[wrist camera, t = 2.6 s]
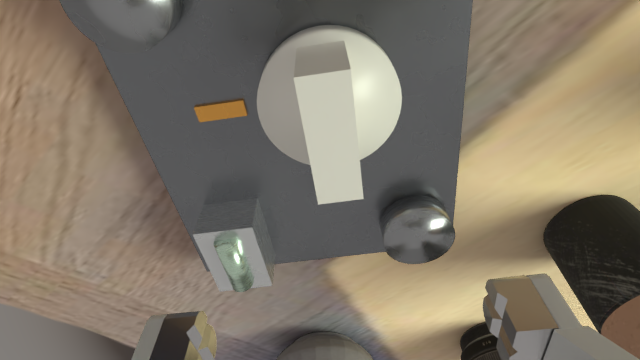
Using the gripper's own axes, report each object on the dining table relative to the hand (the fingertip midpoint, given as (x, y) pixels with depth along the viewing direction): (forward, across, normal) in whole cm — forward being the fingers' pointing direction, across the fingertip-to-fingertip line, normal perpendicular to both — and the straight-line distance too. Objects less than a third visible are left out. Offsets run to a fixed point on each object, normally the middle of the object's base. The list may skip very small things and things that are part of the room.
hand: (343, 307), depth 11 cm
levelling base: (+16, +2, +2) cm, 17 cm away
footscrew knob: (+14, 0, +1) cm, 14 cm away
